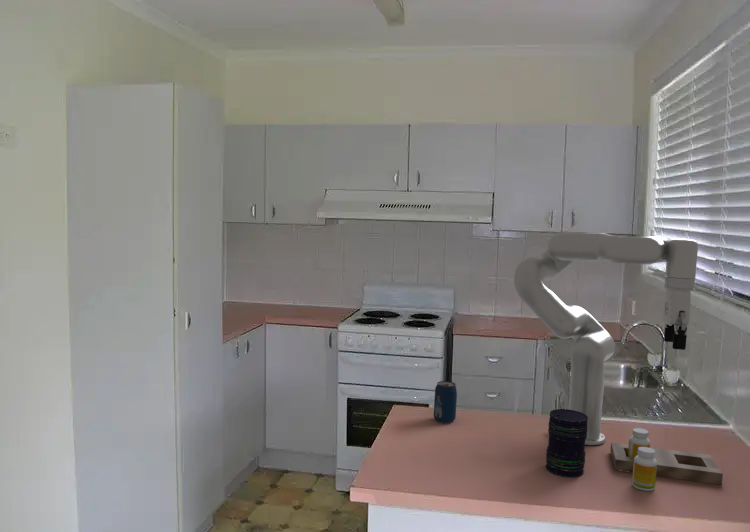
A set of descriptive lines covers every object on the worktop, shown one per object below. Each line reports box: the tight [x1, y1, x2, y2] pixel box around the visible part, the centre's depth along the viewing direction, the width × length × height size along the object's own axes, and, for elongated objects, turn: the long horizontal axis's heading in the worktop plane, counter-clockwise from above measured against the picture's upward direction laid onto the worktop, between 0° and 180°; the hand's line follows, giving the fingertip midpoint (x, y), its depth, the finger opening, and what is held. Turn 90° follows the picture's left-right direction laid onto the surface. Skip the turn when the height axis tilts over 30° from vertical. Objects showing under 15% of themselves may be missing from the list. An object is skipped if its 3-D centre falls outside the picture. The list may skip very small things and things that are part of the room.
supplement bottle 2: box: [631, 447, 657, 492], centre depth 167 cm, size 5×5×10 cm
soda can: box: [433, 380, 458, 425], centre depth 210 cm, size 7×7×12 cm
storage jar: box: [545, 408, 588, 479], centre depth 175 cm, size 10×10×15 cm
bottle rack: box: [609, 442, 724, 486], centre depth 180 cm, size 26×13×3 cm, turn 76°
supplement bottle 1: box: [628, 427, 651, 458], centre depth 182 cm, size 5×5×10 cm
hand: (674, 345), depth 184 cm, fingers open, 9 cm apart
